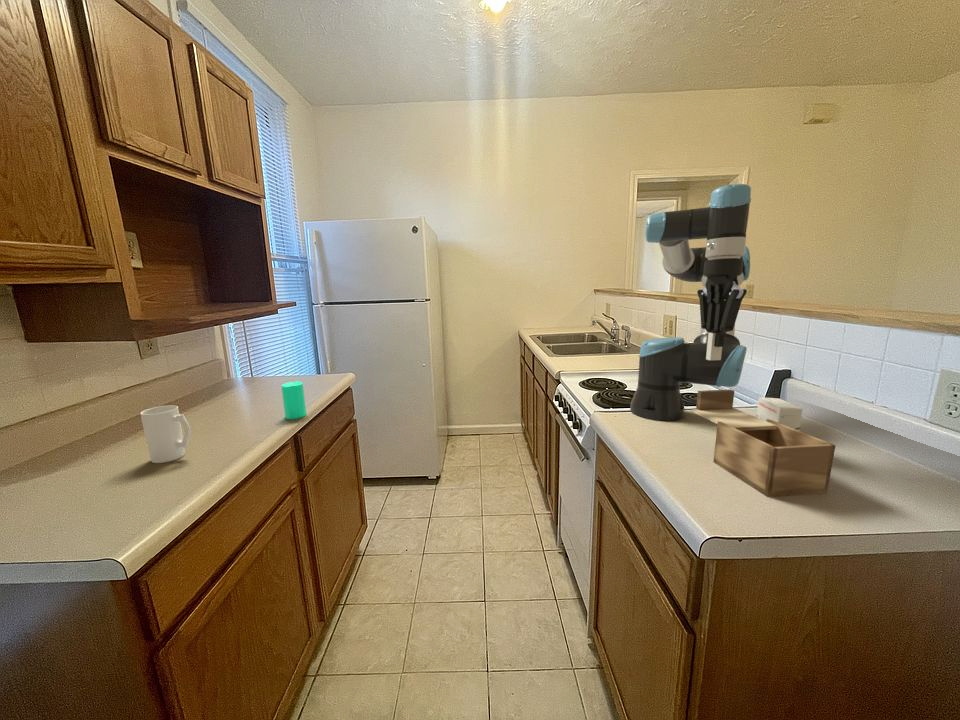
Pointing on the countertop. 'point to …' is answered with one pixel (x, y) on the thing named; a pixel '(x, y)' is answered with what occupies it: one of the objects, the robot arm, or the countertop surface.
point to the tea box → (775, 459)
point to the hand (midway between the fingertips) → (713, 359)
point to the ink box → (779, 412)
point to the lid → (727, 411)
